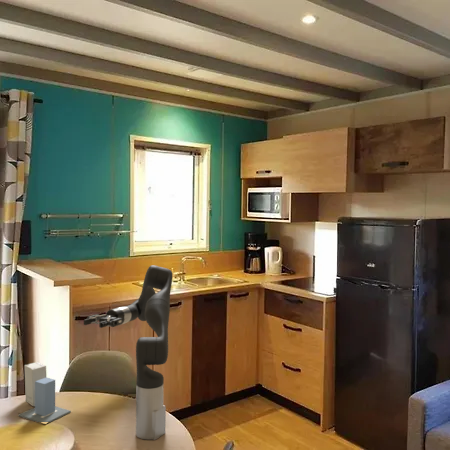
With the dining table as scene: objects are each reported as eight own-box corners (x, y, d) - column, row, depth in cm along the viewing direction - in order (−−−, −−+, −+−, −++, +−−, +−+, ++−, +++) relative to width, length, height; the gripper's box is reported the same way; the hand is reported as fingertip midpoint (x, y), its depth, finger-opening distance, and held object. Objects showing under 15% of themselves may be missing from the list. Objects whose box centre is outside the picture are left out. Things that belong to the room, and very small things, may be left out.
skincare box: (47, 403, 187) (47, 366, 186) (32, 407, 183) (32, 369, 182) (39, 397, 193) (39, 360, 192) (23, 401, 189) (24, 364, 188)
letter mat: (70, 412, 179) (70, 410, 179) (45, 424, 168) (45, 422, 168) (44, 404, 186) (44, 403, 185) (18, 416, 175) (18, 414, 175)
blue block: (55, 411, 178) (55, 379, 178) (44, 416, 174) (44, 384, 173) (45, 408, 180) (45, 377, 180) (34, 413, 176) (35, 381, 176)
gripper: (106, 306, 211) (79, 312, 196) (131, 309, 204) (105, 316, 190) (106, 322, 211) (79, 330, 197) (131, 327, 204) (105, 335, 190)
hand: (92, 323), depth 193 cm, fingers open, 8 cm apart
